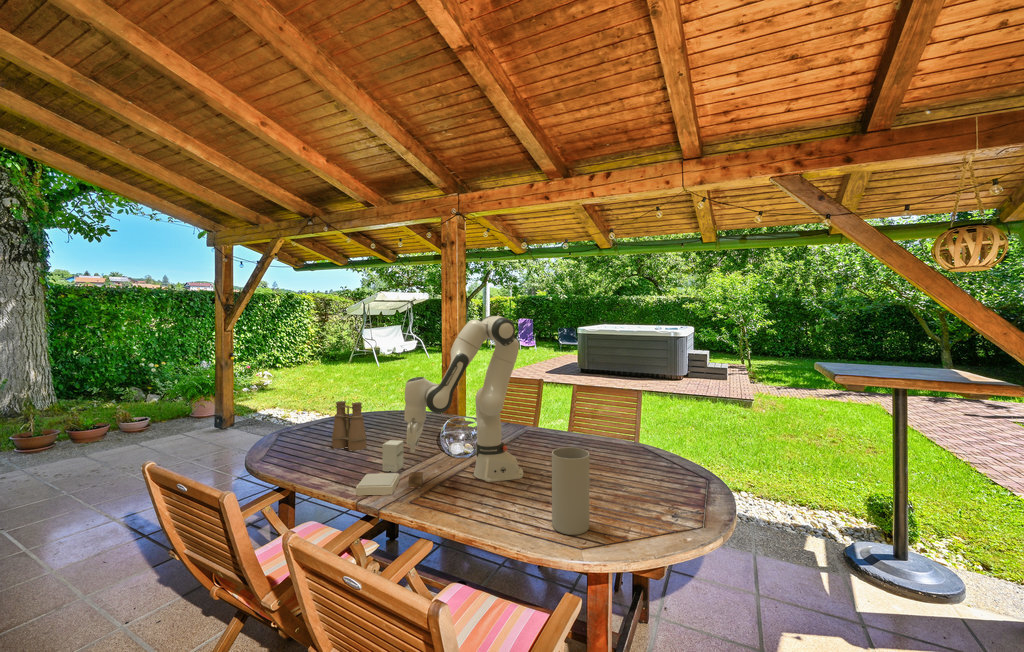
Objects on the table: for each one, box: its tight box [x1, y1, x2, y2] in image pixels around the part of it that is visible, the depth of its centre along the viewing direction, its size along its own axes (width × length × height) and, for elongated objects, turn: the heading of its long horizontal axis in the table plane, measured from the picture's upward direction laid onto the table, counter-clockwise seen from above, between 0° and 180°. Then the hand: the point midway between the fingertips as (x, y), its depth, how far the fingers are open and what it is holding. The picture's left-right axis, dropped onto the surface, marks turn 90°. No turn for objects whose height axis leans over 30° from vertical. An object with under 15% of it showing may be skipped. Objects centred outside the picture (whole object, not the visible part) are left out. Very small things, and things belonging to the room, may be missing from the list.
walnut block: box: [408, 471, 424, 488], centre depth 177 cm, size 5×5×5 cm
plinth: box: [355, 472, 400, 496], centre depth 174 cm, size 14×14×4 cm
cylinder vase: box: [551, 446, 590, 536], centre depth 142 cm, size 12×12×25 cm
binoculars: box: [330, 400, 368, 451], centre depth 229 cm, size 21×10×25 cm, turn 70°
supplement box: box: [381, 439, 404, 473], centre depth 197 cm, size 7×7×13 cm
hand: (414, 448), depth 177 cm, fingers open, 8 cm apart
